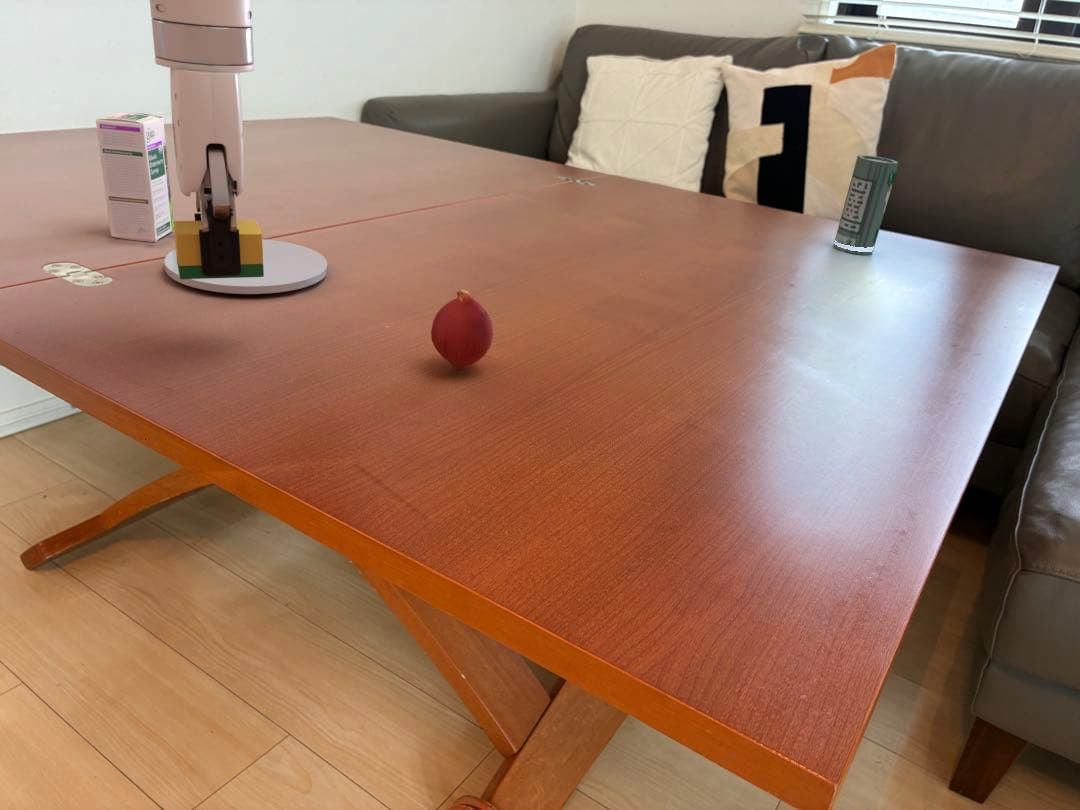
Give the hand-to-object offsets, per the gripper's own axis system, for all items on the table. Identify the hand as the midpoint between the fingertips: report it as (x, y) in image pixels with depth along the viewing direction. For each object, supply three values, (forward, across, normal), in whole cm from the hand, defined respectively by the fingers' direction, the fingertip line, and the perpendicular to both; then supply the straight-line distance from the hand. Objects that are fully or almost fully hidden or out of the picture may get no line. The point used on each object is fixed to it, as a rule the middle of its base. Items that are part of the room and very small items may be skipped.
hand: (218, 263), depth 76 cm
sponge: (+1, 0, 0) cm, 1 cm away
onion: (+9, +8, +21) cm, 24 cm away
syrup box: (+8, -38, -6) cm, 40 cm away
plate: (+8, -22, +5) cm, 24 cm away
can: (+9, -27, +103) cm, 107 cm away
